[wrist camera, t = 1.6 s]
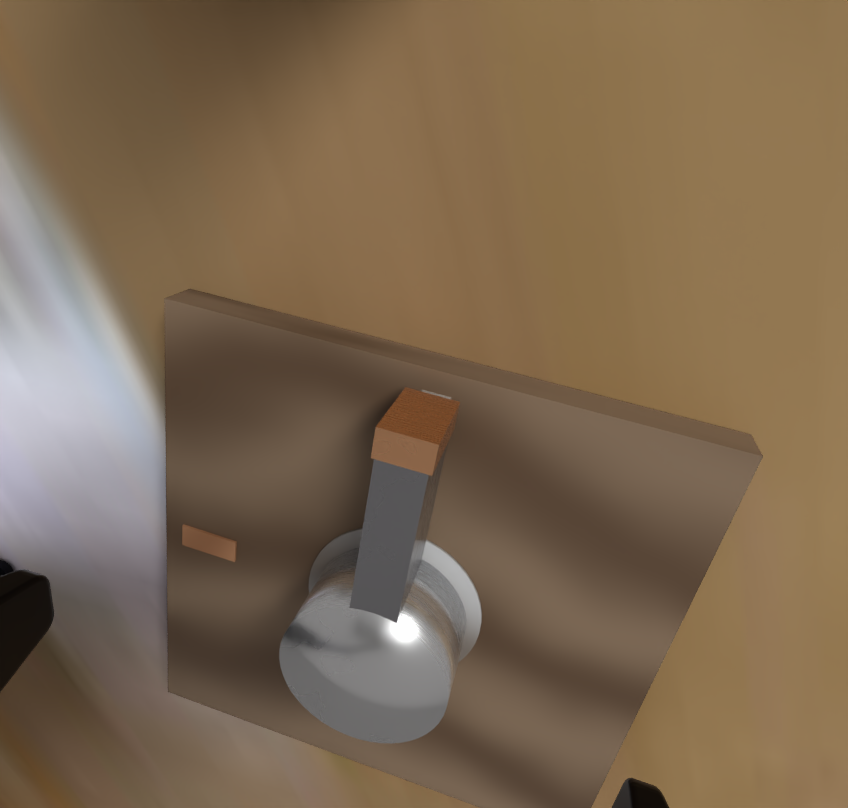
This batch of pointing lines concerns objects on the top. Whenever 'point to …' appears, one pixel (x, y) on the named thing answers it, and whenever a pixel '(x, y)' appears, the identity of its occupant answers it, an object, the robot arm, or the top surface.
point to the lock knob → (385, 596)
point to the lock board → (435, 541)
